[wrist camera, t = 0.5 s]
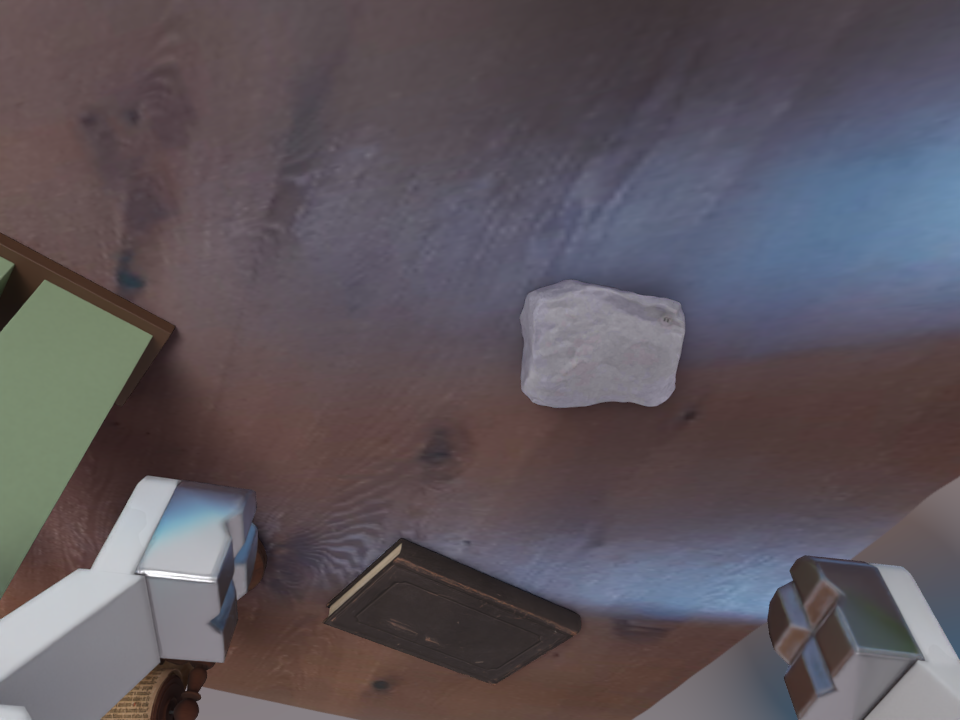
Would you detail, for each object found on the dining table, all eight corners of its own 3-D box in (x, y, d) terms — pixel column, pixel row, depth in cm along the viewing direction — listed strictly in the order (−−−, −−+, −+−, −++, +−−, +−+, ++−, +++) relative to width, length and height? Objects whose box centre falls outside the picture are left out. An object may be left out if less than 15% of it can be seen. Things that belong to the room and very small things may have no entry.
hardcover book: (493, 667, 89) (493, 685, 87) (326, 604, 80) (323, 623, 78) (580, 611, 80) (582, 631, 78) (403, 535, 72) (401, 555, 70)
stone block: (518, 267, 53) (518, 384, 58) (523, 293, 49) (521, 418, 54) (681, 263, 53) (667, 381, 58) (699, 289, 49) (682, 414, 54)
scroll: (149, 579, 78) (64, 783, 62) (95, 490, 68) (-22, 706, 53) (285, 578, 77) (232, 784, 62) (249, 488, 67) (177, 706, 52)
